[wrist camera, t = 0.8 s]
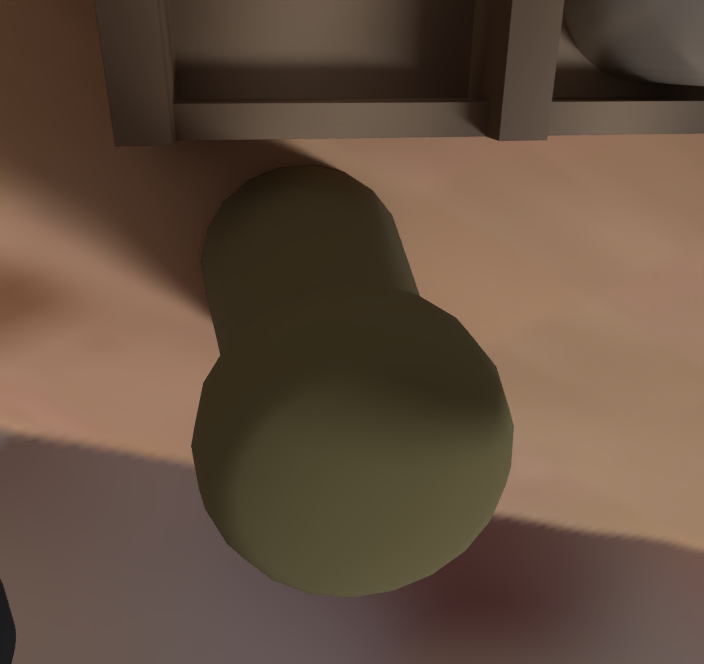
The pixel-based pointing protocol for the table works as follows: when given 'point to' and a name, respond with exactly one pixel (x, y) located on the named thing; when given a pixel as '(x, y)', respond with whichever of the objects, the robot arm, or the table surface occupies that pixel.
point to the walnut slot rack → (366, 73)
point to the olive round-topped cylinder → (339, 395)
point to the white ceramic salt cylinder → (641, 38)
